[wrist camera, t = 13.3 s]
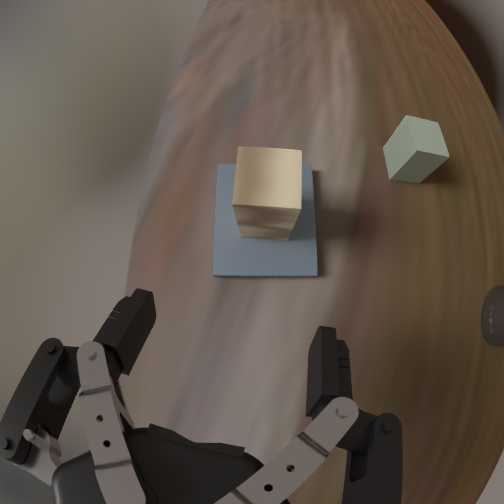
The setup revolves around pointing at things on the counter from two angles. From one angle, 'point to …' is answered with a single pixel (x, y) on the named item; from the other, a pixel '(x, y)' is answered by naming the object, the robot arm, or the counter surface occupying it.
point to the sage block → (415, 150)
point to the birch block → (267, 192)
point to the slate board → (263, 250)
